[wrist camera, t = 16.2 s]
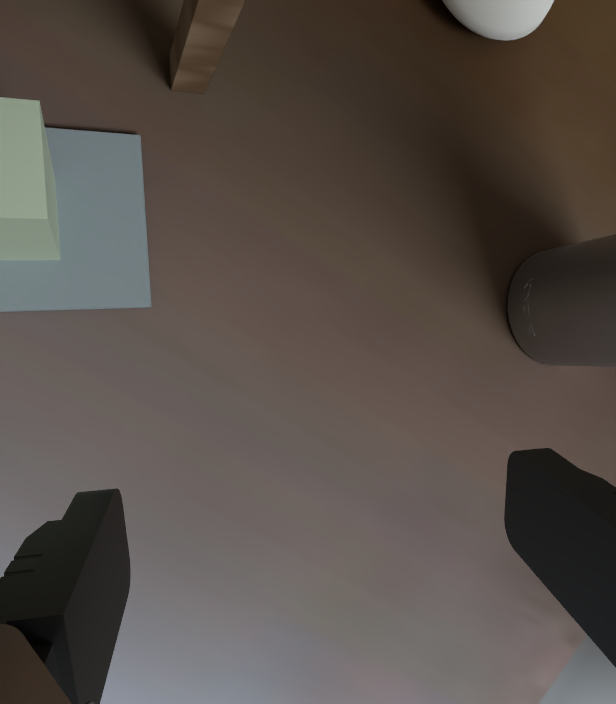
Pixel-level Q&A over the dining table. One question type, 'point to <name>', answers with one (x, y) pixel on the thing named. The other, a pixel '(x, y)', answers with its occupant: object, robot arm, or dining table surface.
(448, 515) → the dining table surface
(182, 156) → the dining table surface
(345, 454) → the dining table surface
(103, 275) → the slate mat
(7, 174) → the sage block
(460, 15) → the flower in vase
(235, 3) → the walnut table
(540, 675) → the dining table surface
